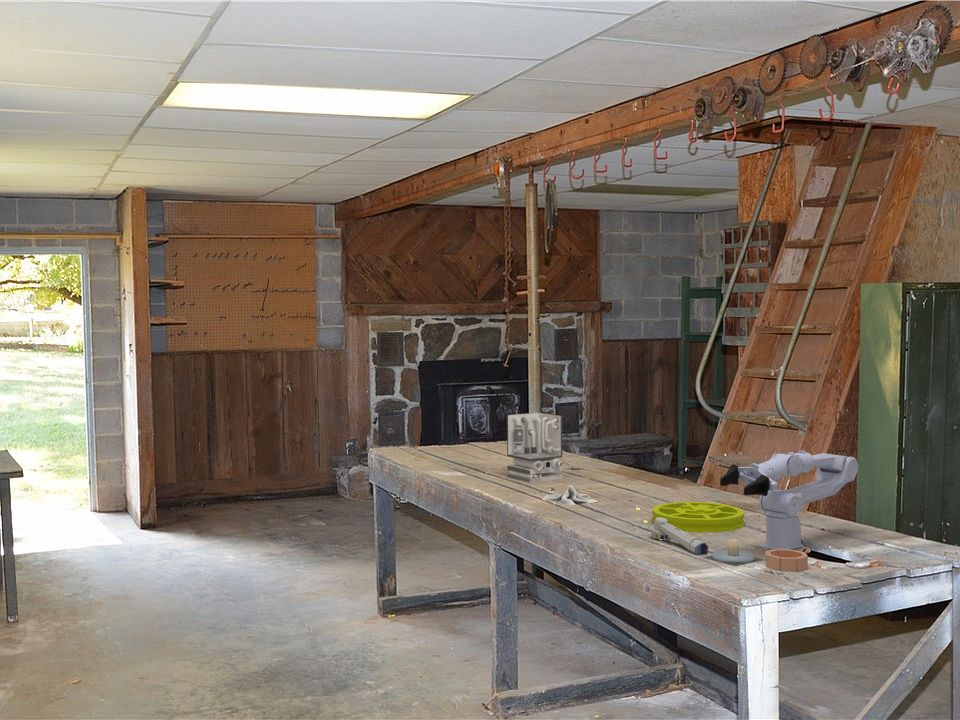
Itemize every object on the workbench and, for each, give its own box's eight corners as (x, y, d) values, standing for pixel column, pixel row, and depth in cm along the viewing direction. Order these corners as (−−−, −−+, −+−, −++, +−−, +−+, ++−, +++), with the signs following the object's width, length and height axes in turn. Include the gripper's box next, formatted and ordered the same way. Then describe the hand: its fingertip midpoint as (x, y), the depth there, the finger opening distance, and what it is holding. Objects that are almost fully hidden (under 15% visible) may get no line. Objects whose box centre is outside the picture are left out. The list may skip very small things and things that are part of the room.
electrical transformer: (539, 473, 402) (538, 412, 401) (567, 480, 386) (567, 416, 384) (507, 477, 393) (507, 415, 392) (535, 484, 377) (534, 419, 376)
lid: (731, 551, 267) (731, 533, 267) (763, 559, 258) (764, 540, 257) (703, 557, 261) (703, 538, 260) (735, 566, 252) (735, 546, 251)
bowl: (782, 560, 258) (783, 547, 258) (815, 568, 250) (815, 554, 250) (757, 566, 253) (757, 552, 252) (789, 574, 244) (789, 560, 244)
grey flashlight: (694, 543, 263) (648, 513, 286) (692, 567, 264) (646, 535, 287) (711, 541, 264) (664, 511, 287) (709, 565, 266) (662, 533, 289)
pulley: (744, 516, 315) (744, 501, 315) (743, 535, 289) (743, 519, 288) (656, 512, 323) (656, 497, 323) (648, 531, 296) (648, 514, 296)
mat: (731, 552, 267) (731, 551, 267) (763, 561, 258) (763, 559, 258) (703, 558, 261) (703, 557, 261) (735, 567, 252) (735, 566, 252)
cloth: (535, 499, 350) (534, 481, 350) (584, 496, 355) (584, 479, 354) (555, 511, 328) (555, 492, 328) (607, 507, 333) (607, 489, 333)
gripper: (744, 451, 272) (712, 464, 264) (788, 467, 261) (756, 481, 253) (742, 475, 274) (710, 488, 266) (786, 492, 263) (754, 506, 255)
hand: (732, 486), depth 260 cm, fingers open, 7 cm apart
